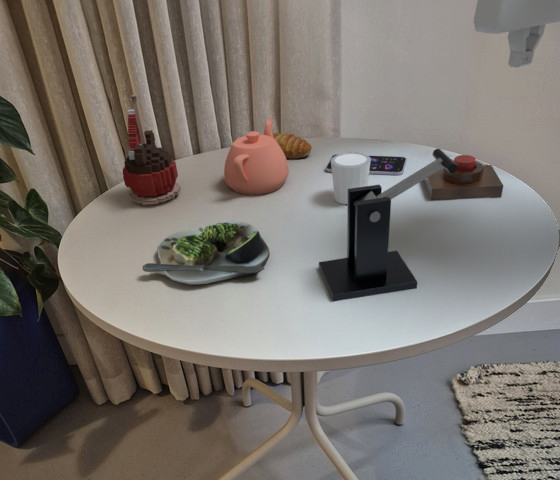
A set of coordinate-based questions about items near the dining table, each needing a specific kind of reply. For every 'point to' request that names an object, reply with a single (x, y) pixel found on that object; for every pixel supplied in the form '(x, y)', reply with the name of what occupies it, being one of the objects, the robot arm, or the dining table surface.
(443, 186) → the console
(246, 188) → the teapot
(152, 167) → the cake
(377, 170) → the smartphone
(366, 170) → the white cup
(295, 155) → the pastry
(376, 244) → the bracket
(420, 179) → the lever
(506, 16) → the robot arm
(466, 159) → the button
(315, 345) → the dining table surface
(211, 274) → the salad plate
